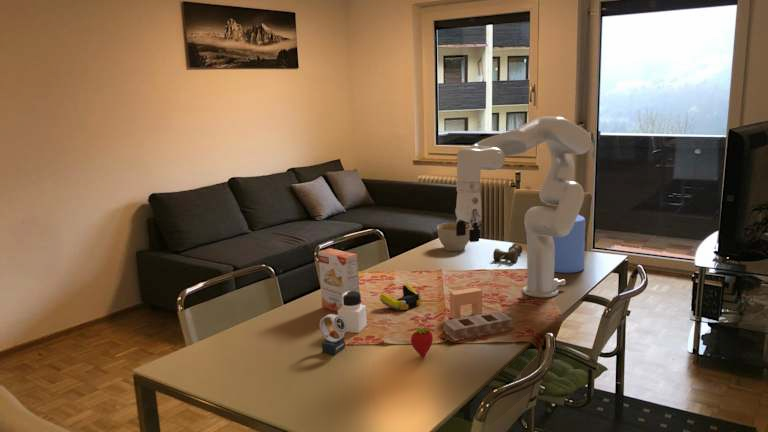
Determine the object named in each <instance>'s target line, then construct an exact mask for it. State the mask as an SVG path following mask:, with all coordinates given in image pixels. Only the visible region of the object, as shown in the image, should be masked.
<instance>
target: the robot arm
mask: <svg viewBox="0 0 768 432" xmlns="http://www.w3.org/2000/svg"><path fill="white" fill-rule="evenodd" d="M544 143H546V147H547V149H548V152H549V155H550V166H549V168H548V172H547V174H546V176H545V178H544V182H543V183H542V186H541V187H540V191H539V199H540V201H541V202H542V203H543V204H545V205H550V206H554V207H557V208H552V207H547V206H542V205H538V206H532V207H530V208H529V209H527V211H526V213H525V215H524V228H525V232H526V245H527V247H526V254H527V255H526V256H527V257H526V259H527V260H526V264H527V265H526V266H527V268H526V273H527V274H526V278H527V279H526V280H527V281H526V285H525V286H524V287H522V292H523V294H524V295H527V296H530V297H533V298H552V297H555V296H557V295H559V288H558V287H559V286H564V285H566V283H567V281H566V279H564V278H563V279H558V278H555V272H554V258H555V245H554V240H553V237H557V238H562V237H565V236H567V235H568V234H569V232H570V231H571V229H572V227H573V225H574V223H575V220H576V218H577V216H578V215H579V213H580V212H581V211H580V210H581V208H582V206H583V204H584V198H585V191H584V188H583V186H582V185H581V184H580V183H579V182H577V181H573V179H572V178H573V176H574V174H575V170H576V169H575V163H574V160H573V157H572V155H583V154H586V153H587V152H588V151H590V149H591V147H592V136H591V134H590V132H588V131H587V130H586V129H584V128H583V127H581V126H580V125H577V123H576V124H575V123H574V122H572V121H570V120H568V119H567V118H564V117H563V116H547V115H546V116H545V115H544V116H539V117H536V118H534V119H532V120H530V121H528V122H526V123H524V124H523V125H520V126H518V127H516V128H514V129H512V130H508V131H504V132H502V133H499V134H496V135H493V136H489V137H486V138H483V139H481V140H480V141H478V142H476V143H474V144H472V145H470V146H469V147H462V148H459V149H458V150H457V153H456V154H457V155H456V156H457V157H456V158H457V159H456V192H457V194H456V203H455V204H456V207H455V209H454V213H455V223H456V235H457V236H463V235H466V224H469V225H470V228H471V230H469V243H477V242H480V230H481V226H482V220H483V217H482V216H483V215H482V210H483V209H482V196H481V174H482V173H481V172H482V170H483V171H484V170H487V171H496V170H499V169H501V168H502V167H503V166H504V164H505V162H506V156H514V155H515V156H516V155H521V154H524V153H526V152H528V151H530V150H532V149H533V148H535V147H537V146H539V145H541V144H544Z"/></svg>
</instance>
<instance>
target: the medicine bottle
mask: <svg viewBox="0 0 768 432" xmlns="http://www.w3.org/2000/svg"><path fill="white" fill-rule="evenodd" d="M337 315H338V316H340V317H342V318H343V319H344V321H345V323H346V332H345V333H352V334H353V333H354V334H359V333H361V332H362V331H363V330H364V329H365V327H366V326H367V325H368V321H367V306H366V304H362V296H361V293H360V291H359V292H356V291H348V292H345V293H343V294H342V307H341V308H340V309H339V310H338V312H337Z"/></svg>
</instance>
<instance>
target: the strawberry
mask: <svg viewBox="0 0 768 432" xmlns="http://www.w3.org/2000/svg"><path fill="white" fill-rule="evenodd" d="M418 324H419V325H421V326H422V324H421V323H420V322H419V323H418ZM427 328H428V326H426V327H422V328H419V327H417V328H416V327H413V329H414V330H416V331H415V332H413V334H412V335H411V337H410V341H411V342H410V343H411V346H412V348H413V349H414V350H415V351H416V352H417V353H418V355H419V356H420V357H422V358H424V357H426V355H427V353H428V352H429V350H430V348H431V346H432V344H433V334H432V331H431V330H430V329H427Z"/></svg>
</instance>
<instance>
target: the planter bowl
mask: <svg viewBox="0 0 768 432" xmlns="http://www.w3.org/2000/svg"><path fill="white" fill-rule="evenodd" d="M436 230H437V237H438V239H439V242H440V243H441V245H442V246H443V249H444V250H445V251H448V252H461V251H464V250H465V248H466V246H467V245H468V243H470V241H469V230H471V228H470V225H469V223H466V235H463V236H457V235H456V222H446V223H441V224H438V225H437V226H436Z"/></svg>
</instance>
